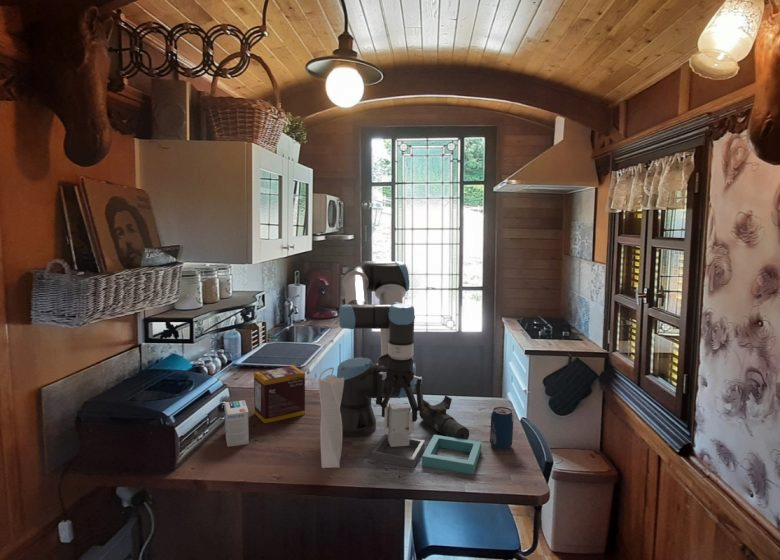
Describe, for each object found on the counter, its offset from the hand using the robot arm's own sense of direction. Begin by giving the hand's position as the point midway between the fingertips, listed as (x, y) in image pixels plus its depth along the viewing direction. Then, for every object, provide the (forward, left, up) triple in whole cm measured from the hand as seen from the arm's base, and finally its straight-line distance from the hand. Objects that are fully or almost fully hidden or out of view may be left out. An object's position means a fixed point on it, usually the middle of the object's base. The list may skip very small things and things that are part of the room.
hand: (399, 428), depth 158 cm
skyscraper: (-17, -12, -8) cm, 22 cm away
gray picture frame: (0, 0, -8) cm, 8 cm away
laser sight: (+9, +21, -8) cm, 24 cm away
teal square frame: (+16, +3, -8) cm, 18 cm away
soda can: (+29, +16, -8) cm, 34 cm away
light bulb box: (-52, -8, -8) cm, 53 cm away
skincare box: (0, 0, -5) cm, 5 cm away
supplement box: (-49, +14, -8) cm, 51 cm away
